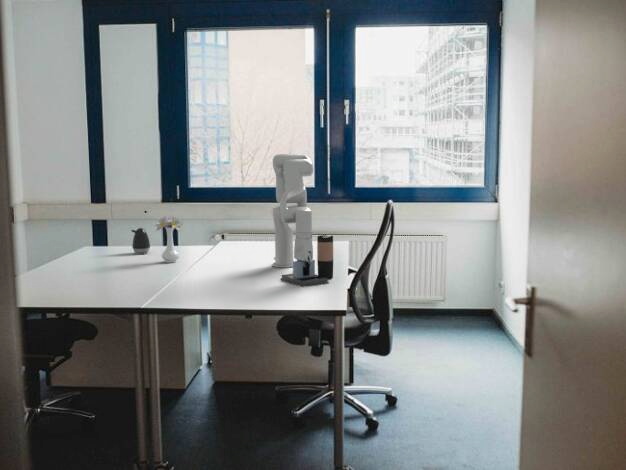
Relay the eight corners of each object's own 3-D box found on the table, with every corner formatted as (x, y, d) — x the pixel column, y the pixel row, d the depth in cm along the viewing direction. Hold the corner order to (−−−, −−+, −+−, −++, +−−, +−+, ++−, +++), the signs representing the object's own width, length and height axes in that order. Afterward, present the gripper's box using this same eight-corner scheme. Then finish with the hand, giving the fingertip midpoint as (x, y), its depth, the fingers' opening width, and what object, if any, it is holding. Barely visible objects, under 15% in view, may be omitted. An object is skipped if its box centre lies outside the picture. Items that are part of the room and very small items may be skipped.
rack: (280, 279, 323) (280, 274, 323) (305, 276, 331) (305, 270, 330) (302, 286, 307) (302, 281, 306) (328, 283, 314) (328, 277, 314)
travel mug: (320, 279, 322) (319, 237, 320) (315, 276, 330) (315, 235, 327) (335, 278, 324) (335, 236, 322) (330, 275, 332) (330, 234, 329)
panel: (293, 278, 317) (292, 261, 316) (311, 276, 322) (311, 259, 321) (296, 279, 315) (296, 262, 314) (314, 277, 320) (314, 260, 319)
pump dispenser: (130, 252, 407) (129, 227, 405) (148, 251, 411) (147, 226, 409) (134, 255, 398) (132, 229, 396) (152, 254, 402) (151, 228, 400)
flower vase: (185, 258, 384) (184, 214, 381) (178, 264, 366) (176, 218, 363) (162, 258, 385) (161, 214, 382) (154, 264, 367) (152, 218, 363)
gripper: (287, 234, 321) (288, 272, 323) (306, 238, 307) (306, 278, 310) (301, 233, 325) (301, 271, 327) (320, 237, 311) (320, 276, 314)
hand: (304, 274), depth 318 cm, fingers closed on panel, 3 cm apart
